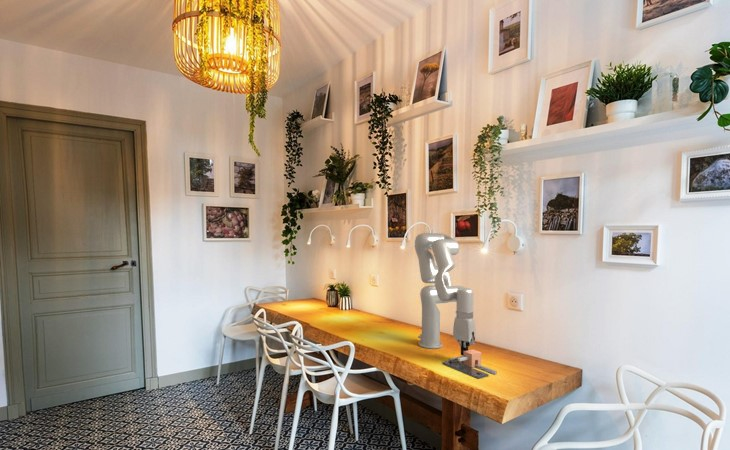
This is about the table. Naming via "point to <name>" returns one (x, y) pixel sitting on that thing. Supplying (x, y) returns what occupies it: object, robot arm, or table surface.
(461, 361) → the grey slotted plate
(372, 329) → the table surface
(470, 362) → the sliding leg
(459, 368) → the bolt plate
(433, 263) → the robot arm
